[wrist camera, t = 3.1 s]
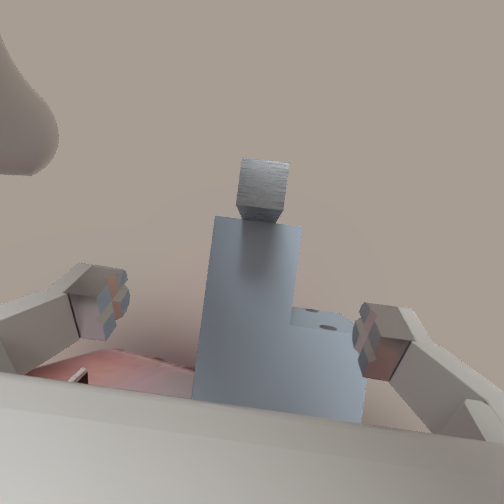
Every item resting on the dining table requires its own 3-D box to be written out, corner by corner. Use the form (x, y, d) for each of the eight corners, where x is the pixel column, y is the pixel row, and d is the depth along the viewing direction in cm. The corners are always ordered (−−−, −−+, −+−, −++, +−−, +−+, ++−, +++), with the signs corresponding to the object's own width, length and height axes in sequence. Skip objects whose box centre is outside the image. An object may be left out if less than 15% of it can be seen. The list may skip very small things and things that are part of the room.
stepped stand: (178, 498, 26) (214, 215, 26) (199, 430, 36) (226, 226, 36) (348, 523, 26) (384, 237, 26) (322, 447, 36) (349, 241, 36)
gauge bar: (228, 203, 18) (236, 140, 18) (243, 229, 38) (246, 199, 38) (291, 211, 18) (299, 148, 18) (272, 233, 38) (276, 203, 38)
